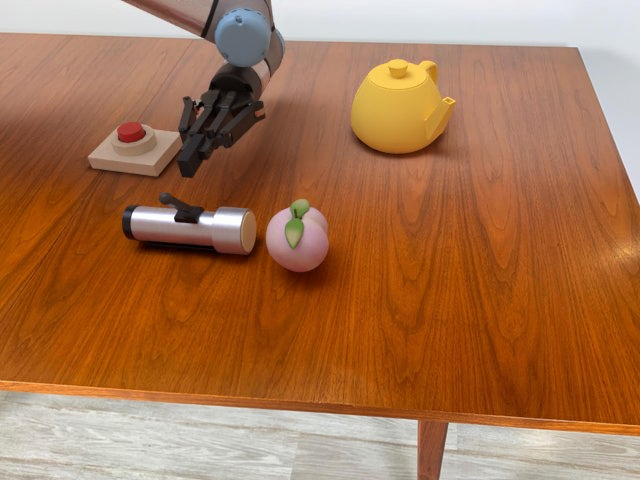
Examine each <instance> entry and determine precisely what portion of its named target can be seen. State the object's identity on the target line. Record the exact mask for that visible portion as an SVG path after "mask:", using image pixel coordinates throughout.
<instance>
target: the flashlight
mask: <svg viewBox="0 0 640 480" xmlns="http://www.w3.org/2000/svg"><path fill="white" fill-rule="evenodd" d="M190 206H191V209H190V213H185V212H180V211H178V210H176V209H174V208H172V207H160V206H159V207H157V206H145V205H141V204H129V205H128V206H126V207H125V209H124V211H123V213H122V216H121V229H122V233H123V235H124V236H125V238H126V239H127V240H129V241H146V242H147V241H148V242H147V246H148V248H149V249H161V250H171V251H172V250H173V251H182V252H196V253H207V254H216V252H217V253H218V254H219V253H220V254H221V253H222V254H231V255H243V256H248V255H250V254H251V252H252V251H253V248H254V246H255V243H256V238H257V219H256V215H255V213H254V211H253V210H252V209H251V208H248V207H246V208H244V207H233V206H232V207H231V206H219V207H218V208H217V209H216V210H215V211H208V210H205V209H204V206H198V205H190Z"/></svg>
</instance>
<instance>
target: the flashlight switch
mask: <svg viewBox="0 0 640 480" xmlns="http://www.w3.org/2000/svg"><path fill="white" fill-rule="evenodd" d="M158 201H159V203H160V204H162V205H164V206H168V207H169V208H172V209H176V210H178V211H180V212H185V213H190V209H191V206H192V205H191V204H188V203H186V202H184V201H183V200H181V199H178V198H177V197H175V196H173V195H172V194H171V193H170V192H167V191H162V192H161V193H160V194H159V195H158Z"/></svg>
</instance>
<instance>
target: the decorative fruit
mask: <svg viewBox="0 0 640 480" xmlns="http://www.w3.org/2000/svg"><path fill="white" fill-rule="evenodd" d="M328 224H329V223H328V221H327V218H326V217H325V216H324V214H323V213H322V212H320V211H319V209H317V208H315V207H313V206H311V205H310V202H309V200H307V199H305V198H299V199H296V200H295V201H293V202H292V203H291V204H290V205H289V207H287V208H285V209H282V210H280V211H278V212H277V213H276V214H275V215H274V216H273V217H272V218H271V219H270V221H269V222H268V225H267V227H266V232H265V244H266V248H267V252H268V253H269V255H270V257H271V258H272V259H273V261H275V262H276V263H277V264H278V265H280V266H281V267H283V268H285V269H287V270H288V271H292V272H296V273H306V272H309V271H312V270H314V269H316V268H317V267H319V266H320V264H322V263H323V262H324V260H325V259H326V257H327V254H328V252H329V249H330V248H329V247H330V242H329V238H328V236H329V225H328Z"/></svg>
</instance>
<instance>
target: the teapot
mask: <svg viewBox="0 0 640 480" xmlns="http://www.w3.org/2000/svg"><path fill="white" fill-rule="evenodd" d="M438 79H439V66H438V65H437V64H436V63H435V62H434V61H432V60H423V61H421V62H420V63H419V64H415V63H412V62H409V61H407V60H404V59H401V58H396V59H395V58H394V59H391V60H389V61H388V62H385V63H381V64H379V65H377V66H375V67H373V68H372V69H371V70H370V71H369V72H368V74H367V75H366V76H365V78H364V79H363V80H362V82H361V84H360V86H359V88H358V89H357V91H356V93H355V95H354V98H353V101H352V105H351V109H350V126H351V129H352V132H353V133H354V135H355V136H356V137H357V138H358V139H359V140H360V141H361V142H363V143H364V144H365V145H367V146H368V147H369V148H371V149H373V150H375V151H378V152H382V153H387V154H396V155H397V154H399V155H400V154H410V153H415V152H417V151H420V150H423V149H424V148H426V147H428V146H429V145H431V144H432V143H433V142H434V141H435V140H437V138H438V137H440V135H441V134H443V133H444V131H445V129H446V127H447V125H448V123H449V120H450V118H451V116H452V113H453V111H454V109H455V106H456V105H457V101H456V100H455V99H453V98H451V97H449V96H446V97H444V98H443V97H442V94H441V92H440V90H439V88H438V86H437V85H438Z"/></svg>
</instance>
